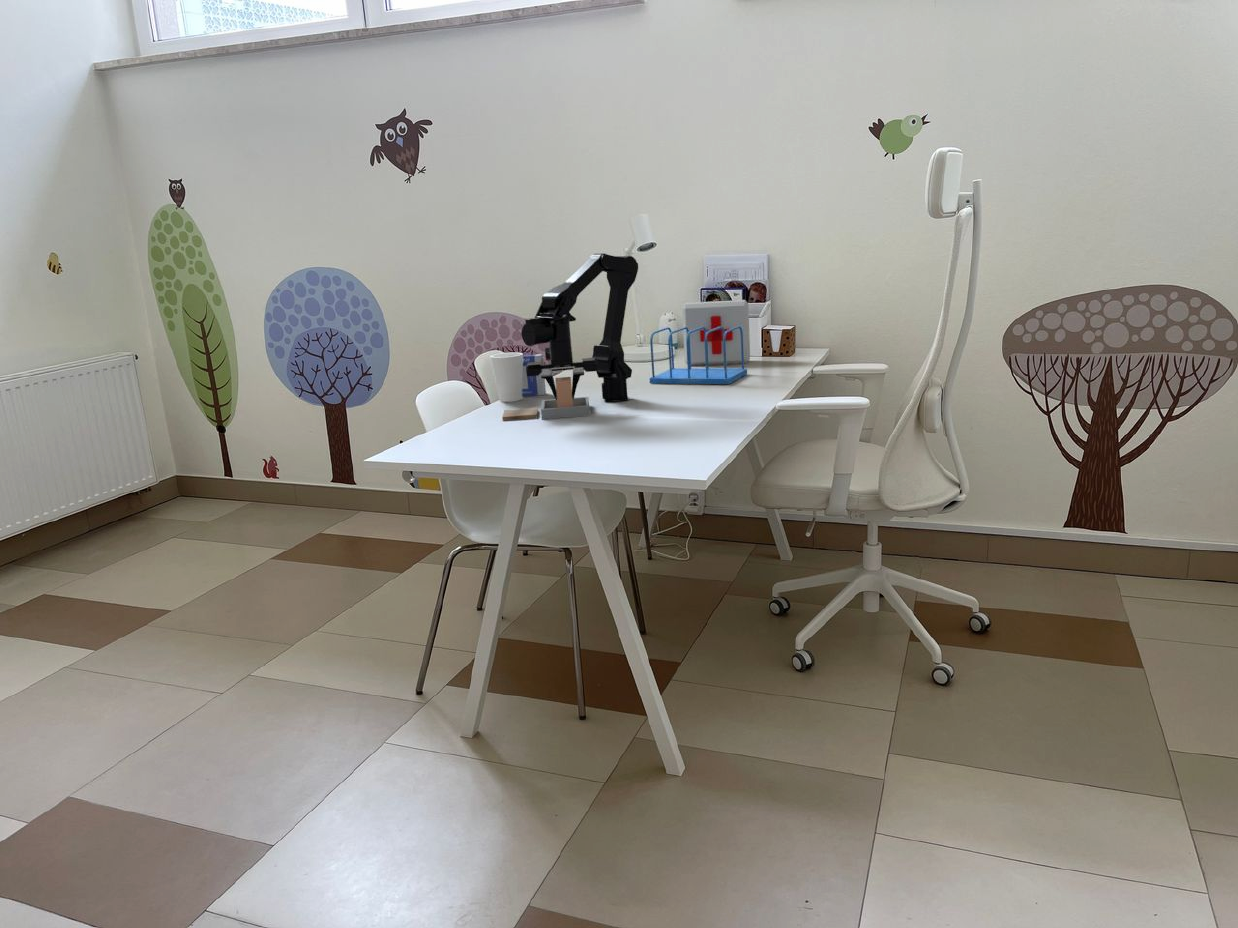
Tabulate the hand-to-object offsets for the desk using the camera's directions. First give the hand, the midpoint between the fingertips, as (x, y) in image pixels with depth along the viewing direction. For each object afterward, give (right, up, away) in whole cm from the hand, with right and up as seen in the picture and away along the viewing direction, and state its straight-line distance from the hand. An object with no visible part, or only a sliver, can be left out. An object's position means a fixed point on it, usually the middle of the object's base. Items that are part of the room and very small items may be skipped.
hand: (564, 399), depth 249 cm
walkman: (-11, +3, +29) cm, 31 cm away
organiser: (0, -3, +1) cm, 4 cm away
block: (0, -3, +1) cm, 4 cm away
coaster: (-12, -4, 0) cm, 12 cm away
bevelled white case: (+47, +16, +60) cm, 77 cm away
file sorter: (+38, +8, +35) cm, 53 cm away
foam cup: (-17, +1, +24) cm, 29 cm away
